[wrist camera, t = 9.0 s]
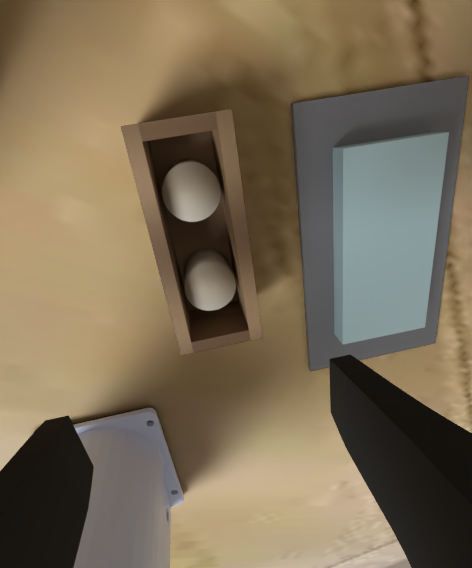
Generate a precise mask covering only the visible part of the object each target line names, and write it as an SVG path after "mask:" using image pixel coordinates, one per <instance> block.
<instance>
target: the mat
mask: <svg viewBox="0 0 472 568" xmlns="http://www.w3.org/2000/svg"><path fill="white" fill-rule="evenodd" d="M468 81H469V76H463V77H457V78H451V79H444V80H438V81H432V82H425V83H419V84H413V85H406V86H400V87H393V88H387V89H381V90H374V91H368V92H362V93H355V94H349V95H343V96H336V97H330V98H324V99H317V100H311V101H305V102H298V103H292V104H291V108H292V123H293V138H294V152H295V167H296V182H297V197H298V211H299V226H300V241H301V256H302V270H303V285H304V300H305V315H306V329H307V344H308V359H309V369H310V371H315V370H319V369H323V368H328V367H330V362H329V359H331V358H336V357H341V356H345V355H352V356H353V357H355V358H356V359H358V360H363V359H367V358H372V357H376V356H381V355H385V354H389V353H394V352H398V351H403V350H407V349H411V348H416V347H420V346H425V345H429V344H433V343H436V335H437V327H438V319H439V311H440V303H441V295H442V287H443V279H444V271H445V264H446V256H447V248H448V240H449V232H450V224H451V216H452V208H453V200H454V192H455V184H456V176H457V168H458V160H459V152H460V144H461V136H462V128H463V121H464V113H465V105H466V97H467V89H468ZM432 132H449V137H448V145H447V153H446V161H445V170H444V178H443V186H442V194H441V202H440V210H439V218H438V226H437V234H436V242H435V251H434V259H433V267H432V275H431V283H430V291H429V299H428V307H427V315H426V323H425V328H420V329H415V330H410V331H406V332H401V333H396V334H391V335H386V336H382V337H377V338H372V339H367V340H363V341H358V342H353V343H348V344H342V343H341V342H340V341H339V339H338V338H337V337H336V336H335V334H334V238H333V148H334V147H341V146H347V145H354V144H360V143H367V142H373V141H380V140H386V139H393V138H399V137H406V136H412V135H419V134H425V133H432Z"/></svg>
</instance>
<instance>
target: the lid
mask: <svg viewBox="0 0 472 568" xmlns="http://www.w3.org/2000/svg"><path fill="white" fill-rule="evenodd" d="M448 137H449V132H432V133H425V134H419V135H412V136H406V137H399V138H393V139H386V140H380V141H373V142H367V143H360V144H354V145H347V146H341V147H334V148H333V238H334V334H335V336H336V337H337V338H338V339H339V341H340V342H341V343H342V344H348V343H353V342H358V341H363V340H367V339H372V338H377V337H382V336H386V335H391V334H396V333H401V332H406V331H410V330H415V329H420V328H425V323H426V315H427V307H428V299H429V291H430V283H431V275H432V267H433V259H434V251H435V242H436V234H437V226H438V218H439V210H440V202H441V194H442V186H443V178H444V170H445V161H446V153H447V145H448Z"/></svg>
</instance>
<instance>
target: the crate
mask: <svg viewBox="0 0 472 568" xmlns="http://www.w3.org/2000/svg"><path fill="white" fill-rule="evenodd" d="M121 129H122V133H123V137H124V141H125V144H126V148H127V152H128V156H129V160H130V163H131V167H132V171H133V175H134V179H135V182H136V186H137V190H138V194H139V197H140V201H141V205H142V209H143V213H144V216H145V220H146V224H147V228H148V232H149V235H150V239H151V243H152V247H153V251H154V254H155V258H156V262H157V266H158V270H159V273H160V277H161V281H162V285H163V289H164V292H165V296H166V300H167V304H168V308H169V311H170V315H171V319H172V323H173V326H174V330H175V334H176V338H177V342H178V345H179V349H180V353H181V355H186V354H190V353H195V352H200V351H204V350H209V349H213V348H218V347H223V346H227V345H232V344H237V343H241V342H246V341H251V340H255V339H260V338H263V337H262V330H261V323H260V315H259V308H258V300H257V293H256V285H255V278H254V270H253V263H252V256H251V248H250V241H249V233H248V226H247V218H246V211H245V204H244V196H243V189H242V181H241V174H240V166H239V159H238V151H237V144H236V137H235V129H234V122H233V114H232V109H227V110H221V111H215V112H208V113H202V114H195V115H189V116H183V117H176V118H170V119H164V120H157V121H151V122H144V123H138V124H132V125H125V126H121Z"/></svg>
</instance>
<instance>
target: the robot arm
mask: <svg viewBox="0 0 472 568" xmlns="http://www.w3.org/2000/svg"><path fill="white" fill-rule="evenodd" d="M329 362H330V398H331V414H332V416H333V418H334V421H335V423H336V426H337V428H338V430H339V433H340V435H341V437H342V440H343V442H344V444H345V446H346V448H347V450H348V452H349V454H350V456H351V457H352V459H353V461H354V463H355V464H356V466H357V468H358V470H359V472H360V473H361V475H362V477H363V479H364V480H365V482H366V484H367V486H368V487H369V489H370V491H371V493H372V494H373V496H374V498H375V500H376V502H377V503H378V505H379V507H380V509H381V510H382V512H383V514H384V516H385V517H386V519H387V521H388V523H389V524H390V526H391V528H392V530H393V531H394V533H395V535H396V537H397V539H398V541H399V543H400V545H401V547H402V549H403V551H404V552H405V555H406V557H407V559H408V561H409V563H410V565H411V567H412V568H472V433H470V432H469V431H467V430H465V429H463V428H462V427H460V426H458V425H457V424H455V423H453V422H452V421H450V420H448V419H446V418H445V417H443V416H441V415H440V414H438V413H436V412H435V411H433V410H432V409H430V408H428V407H427V406H425V405H424V404H422V403H421V402H419V401H418V400H416V399H415V398H413V397H411V396H410V395H408V394H407V393H405V392H404V391H402V390H401V389H399V388H398V387H396V386H395V385H393V384H392V383H391V382H389V381H388V380H386V379H385V378H383V377H382V376H380V375H379V374H378V373H376V372H375V371H373V370H372V369H370V368H369V367H368V366H366V365H365V364H363V363H362V362H360V361H359V360H358V359H356V358H355V357H353V356H352V355H345V356H341V357H336V358H331V359H329ZM149 420H152V422H149ZM183 501H184V494H183V491H182V488H181V485H180V482H179V479H178V476H177V473H176V470H175V467H174V464H173V461H172V458H171V455H170V452H169V449H168V446H167V443H166V440H165V437H164V434H163V431H162V428H161V425H160V422H159V419H158V416H157V413H156V411H155V410H154V409H153V408H145V409H140V410H136V411H131V412H127V413H123V414H118V415H114V416H109V417H105V418H101V419H96V420H92V421H87V422H83V423H79V424H74V425H73V423H72V421H71V419H70V417H69V416H65V417H60V418H55V419H51V420H46V421H45V422H44V423H43V424H42V425H41V426H40V427H39V428H38V429H37V430H36V431H35V432H34V433H33V434H32V435H31V436H30V438H29V439H28V440H27V441H26V442H25V444H24V445H23V446H22V447H21V448H20V449H19V450H18V452H17V453H16V454H15V455H14V456H13V457H12V458H11V460H10V461H9V462H8V463H7V464H6V465H5V467H4V468H3V469H2V470H1V471H0V568H170V522H171V506H175V505H179V504H181V503H182V502H183Z"/></svg>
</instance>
